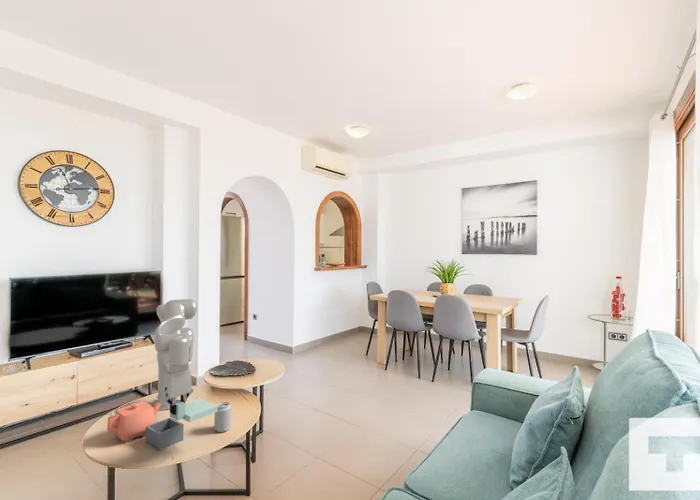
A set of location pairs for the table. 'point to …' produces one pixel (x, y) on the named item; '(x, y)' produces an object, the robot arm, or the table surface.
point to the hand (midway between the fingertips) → (177, 411)
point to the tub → (164, 433)
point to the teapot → (132, 420)
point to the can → (223, 417)
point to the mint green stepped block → (193, 410)
